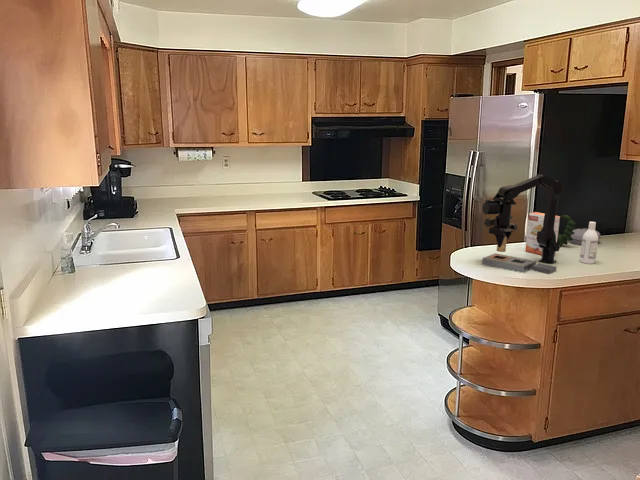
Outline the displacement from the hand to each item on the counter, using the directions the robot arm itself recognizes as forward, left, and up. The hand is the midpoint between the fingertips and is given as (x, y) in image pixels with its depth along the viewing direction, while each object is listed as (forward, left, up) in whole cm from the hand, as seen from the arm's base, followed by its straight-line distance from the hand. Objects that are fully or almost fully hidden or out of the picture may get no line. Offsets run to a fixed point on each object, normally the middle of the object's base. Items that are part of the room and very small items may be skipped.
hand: (501, 246), depth 247 cm
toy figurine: (-65, 0, -9) cm, 66 cm away
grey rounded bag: (-83, +12, -9) cm, 85 cm away
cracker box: (-36, +5, -9) cm, 37 cm away
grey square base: (-4, +19, -9) cm, 22 cm away
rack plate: (0, +4, -9) cm, 10 cm away
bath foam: (-36, +28, -9) cm, 47 cm away
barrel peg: (0, 0, -2) cm, 2 cm away
